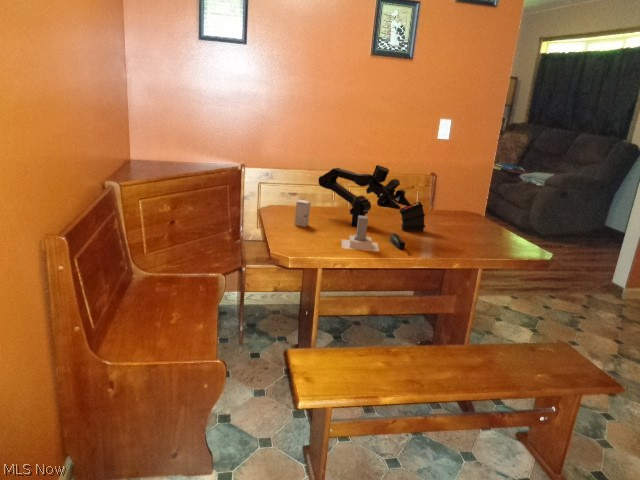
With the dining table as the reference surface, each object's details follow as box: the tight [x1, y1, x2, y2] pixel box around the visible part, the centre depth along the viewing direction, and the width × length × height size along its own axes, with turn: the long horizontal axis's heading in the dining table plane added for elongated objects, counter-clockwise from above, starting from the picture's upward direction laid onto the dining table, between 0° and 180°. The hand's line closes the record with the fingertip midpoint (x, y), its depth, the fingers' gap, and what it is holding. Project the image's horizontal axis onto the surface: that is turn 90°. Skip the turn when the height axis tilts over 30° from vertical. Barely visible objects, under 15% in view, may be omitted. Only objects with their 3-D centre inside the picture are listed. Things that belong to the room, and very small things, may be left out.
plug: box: [355, 215, 369, 241], centre depth 201 cm, size 4×4×13 cm
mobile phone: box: [389, 232, 406, 251], centre depth 209 cm, size 5×3×15 cm
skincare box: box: [294, 199, 311, 228], centre depth 227 cm, size 6×4×12 cm
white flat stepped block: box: [341, 234, 380, 252], centre depth 203 cm, size 16×12×4 cm
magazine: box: [399, 201, 426, 233], centre depth 234 cm, size 4×13×15 cm, turn 95°
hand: (405, 207), depth 216 cm, fingers open, 9 cm apart
